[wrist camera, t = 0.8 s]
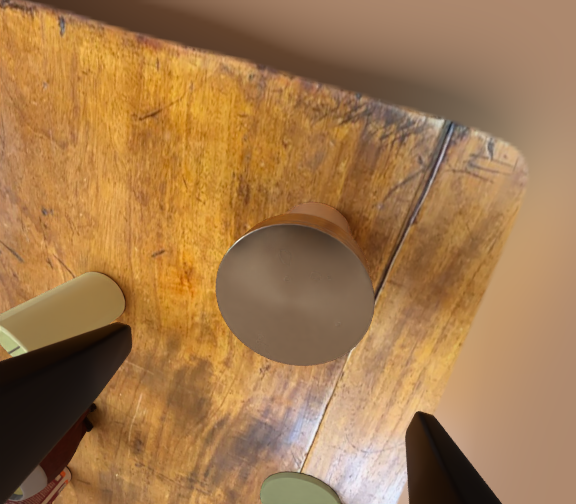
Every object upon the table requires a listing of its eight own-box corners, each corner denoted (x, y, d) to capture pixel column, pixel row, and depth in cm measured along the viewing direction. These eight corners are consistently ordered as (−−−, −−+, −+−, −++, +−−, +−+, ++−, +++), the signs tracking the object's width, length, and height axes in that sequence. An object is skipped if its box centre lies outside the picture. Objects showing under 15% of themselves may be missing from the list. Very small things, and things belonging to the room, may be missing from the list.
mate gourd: (74, 433, 35) (-101, 617, 21) (36, 385, 33) (-185, 555, 19) (116, 427, 33) (-49, 628, 19) (78, 375, 31) (-138, 559, 17)
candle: (106, 326, 27) (14, 394, 20) (69, 287, 26) (-42, 343, 19) (136, 303, 25) (47, 369, 18) (97, 261, 25) (-13, 311, 17)
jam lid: (392, 232, 12) (400, 247, 10) (350, 356, 15) (351, 383, 13) (238, 198, 13) (221, 206, 11) (225, 321, 16) (210, 342, 14)
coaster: (350, 489, 29) (351, 496, 28) (330, 534, 32) (330, 541, 32) (267, 461, 30) (266, 467, 29) (256, 508, 33) (255, 514, 33)
